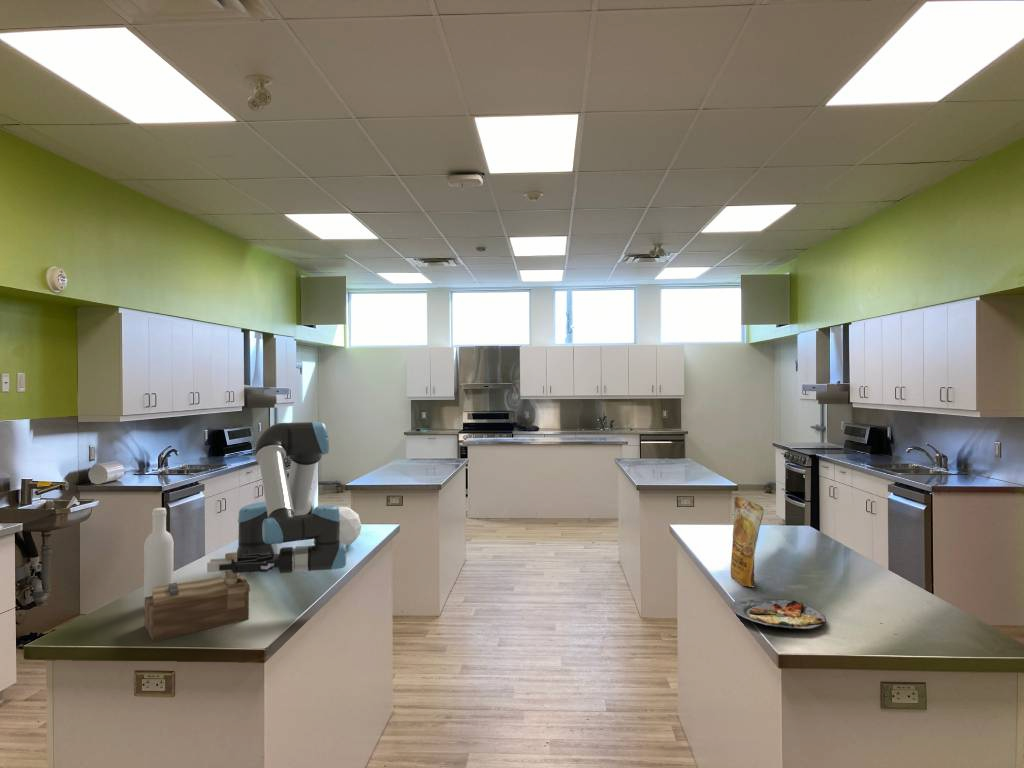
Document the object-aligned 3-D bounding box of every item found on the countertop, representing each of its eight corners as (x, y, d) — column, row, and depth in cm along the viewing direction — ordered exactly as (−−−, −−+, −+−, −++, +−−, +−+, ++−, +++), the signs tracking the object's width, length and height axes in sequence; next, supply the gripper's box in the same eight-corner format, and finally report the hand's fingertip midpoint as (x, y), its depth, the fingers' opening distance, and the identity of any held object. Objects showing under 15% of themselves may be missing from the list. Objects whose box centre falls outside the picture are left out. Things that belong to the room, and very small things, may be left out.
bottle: (174, 607, 181) (175, 509, 182) (144, 612, 177) (145, 512, 177) (171, 599, 188) (172, 505, 188) (142, 605, 183) (143, 508, 184)
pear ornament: (358, 501, 246) (370, 517, 271) (304, 503, 245) (321, 519, 270) (355, 541, 239) (368, 554, 264) (299, 543, 238) (317, 556, 263)
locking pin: (223, 601, 175) (223, 553, 175) (235, 598, 177) (234, 551, 178) (227, 604, 173) (227, 556, 173) (238, 601, 175) (238, 553, 175)
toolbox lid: (152, 592, 171) (152, 583, 171) (242, 578, 184) (242, 569, 184) (153, 607, 159) (153, 597, 159) (249, 591, 172) (249, 581, 172)
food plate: (813, 608, 181) (813, 596, 181) (837, 639, 158) (837, 626, 158) (727, 601, 186) (727, 590, 186) (738, 631, 164) (738, 618, 164)
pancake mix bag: (743, 572, 215) (742, 495, 216) (766, 590, 196) (765, 505, 197) (724, 572, 215) (724, 495, 216) (745, 590, 196) (745, 505, 197)
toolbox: (144, 625, 167) (144, 597, 167) (234, 605, 182) (235, 579, 183) (153, 641, 156) (153, 611, 156) (248, 619, 172) (248, 591, 172)
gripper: (291, 580, 172) (202, 587, 166) (296, 564, 188) (215, 570, 181) (291, 554, 172) (202, 560, 166) (296, 540, 188) (215, 545, 182)
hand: (209, 565), depth 174 cm, fingers closed on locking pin, 3 cm apart
